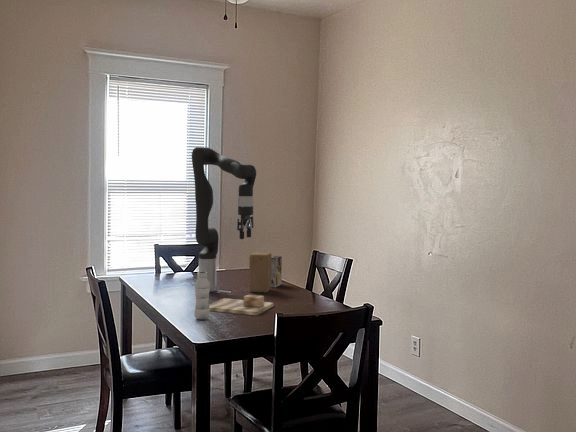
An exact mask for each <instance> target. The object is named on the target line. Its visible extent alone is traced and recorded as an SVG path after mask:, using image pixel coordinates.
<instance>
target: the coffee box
mask: <svg viewBox="0 0 576 432" xmlns="http://www.w3.org/2000/svg"><path fill="white" fill-rule="evenodd" d="M282 261H283V260H282V256H280V255H272V259H271V288H277V287H280V286H281V285H282Z"/></svg>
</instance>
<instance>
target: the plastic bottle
mask: <svg viewBox="0 0 576 432" xmlns="http://www.w3.org/2000/svg"><path fill="white" fill-rule="evenodd" d="M197 273H198V277H199V278H198V280H197V279H196V281H195V283H194V291H195V308H194V313H193V314H194V317H195V319H197V320H202V321H203V320H207V319H210V317H211V315H210V314H211V311H210V309H209V304H210V300H209V299H210V293H211V292H210V282H209V281H208V280H207V278H206V277H207V272H199V271H198V272H197Z"/></svg>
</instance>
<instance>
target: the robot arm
mask: <svg viewBox="0 0 576 432" xmlns="http://www.w3.org/2000/svg"><path fill="white" fill-rule="evenodd" d="M191 163H192V164H191V165H192V171H193V178H194V196H195V197H194V198H195V240H196V243H197V245H199V246H200V247H203V248H202V250H201V251H200V252H199V253H198V272H207V277H206V278H207V280H208V281H209V282H210V292H209V293H212V292H216V291H217V255H218V252H219V240H220V239H219V232H218V230H217V229H216V228H215V227H209V217H210V213H211V211H212V208H213V205H214V194H213V193H214V191H213V187H212V185H211V183H210V182H209V180H208V178H207V176H206V172H205V166H207V165H212V166H217V167H218V168H219V169H221V170H222V171H224V172H225V173H228V174H231V175H232V176H234V177H235V178H237V179H239V180H240V179H241V180H244V181H243V183H241V184H239V186H238V197H237V198H238V199H237V214H238V216H240V217H237V228H236V230H237V231H238V232H239V240H244V239H245V230H246V238H251V237H252V230H253V229H254V216H253V215H254V185H255V182H256V177H257V169H256V167H255V165H253V164H242V163H241V162H239V161H237V160H236V159H232V158H230V157H227V156H225V155H222V154H220V153H219V152H217V151H216V150H215V149H212V148H211V147H207V146H206V147H205V146H204V147H203V146H197V147H194V148H193V149H192V152H191ZM198 272H197V273H196V281H197V280H198V278H199V277H198Z"/></svg>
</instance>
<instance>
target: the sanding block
mask: <svg viewBox="0 0 576 432" xmlns="http://www.w3.org/2000/svg"><path fill="white" fill-rule="evenodd" d="M243 300H244V307H254V308H261V307H262V306H264V302H265V295H255V294H247V295H244V296H243Z"/></svg>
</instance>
